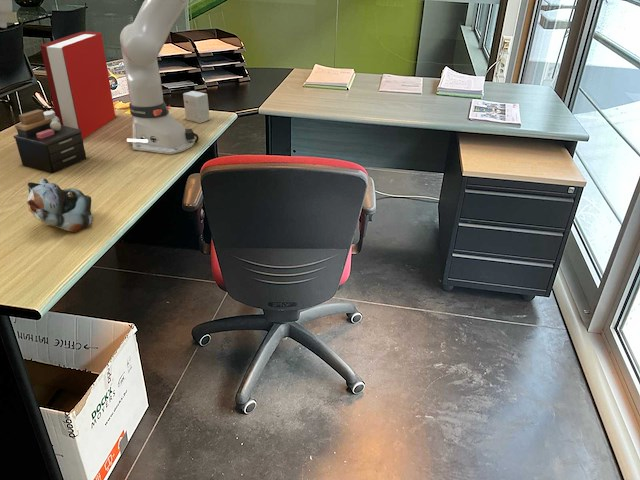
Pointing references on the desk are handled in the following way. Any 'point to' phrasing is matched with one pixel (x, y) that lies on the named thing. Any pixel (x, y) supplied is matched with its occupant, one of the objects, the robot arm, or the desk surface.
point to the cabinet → (52, 150)
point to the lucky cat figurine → (59, 206)
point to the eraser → (45, 133)
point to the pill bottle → (51, 116)
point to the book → (79, 81)
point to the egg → (55, 125)
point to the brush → (33, 123)
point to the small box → (196, 106)
